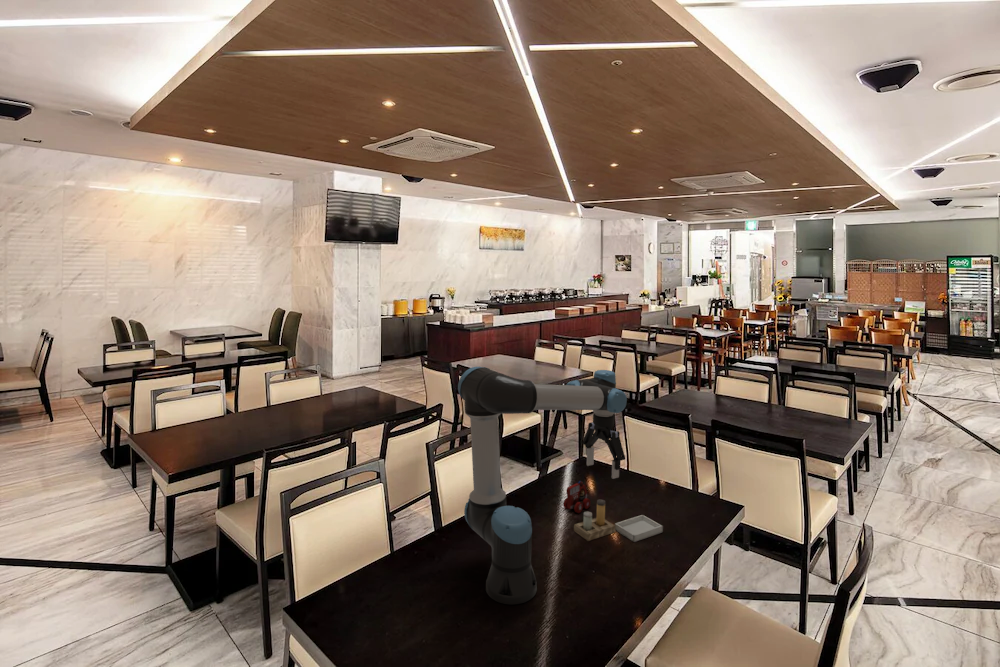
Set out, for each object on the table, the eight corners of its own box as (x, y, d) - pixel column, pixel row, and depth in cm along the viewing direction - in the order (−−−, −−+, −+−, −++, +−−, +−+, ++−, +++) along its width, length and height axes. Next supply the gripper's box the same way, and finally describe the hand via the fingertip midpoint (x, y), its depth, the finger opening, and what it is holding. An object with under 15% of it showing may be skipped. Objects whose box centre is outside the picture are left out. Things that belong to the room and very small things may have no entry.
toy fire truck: (593, 506, 208) (594, 481, 207) (574, 516, 200) (575, 490, 198) (579, 500, 213) (579, 476, 212) (560, 510, 205) (561, 485, 203)
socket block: (588, 541, 181) (588, 534, 181) (573, 531, 188) (574, 524, 188) (615, 532, 188) (615, 525, 187) (600, 522, 194) (600, 516, 194)
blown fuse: (599, 532, 187) (600, 503, 186) (594, 529, 190) (595, 500, 188) (606, 530, 189) (607, 501, 187) (600, 527, 191) (601, 498, 190)
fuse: (586, 536, 184) (587, 516, 183) (581, 533, 187) (582, 512, 186) (593, 534, 186) (593, 514, 185) (588, 531, 188) (588, 510, 187)
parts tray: (634, 542, 181) (634, 535, 180) (614, 529, 189) (614, 523, 189) (662, 532, 188) (662, 525, 187) (642, 520, 196) (642, 514, 196)
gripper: (637, 421, 175) (634, 481, 178) (589, 404, 196) (588, 458, 199) (620, 424, 171) (618, 485, 174) (573, 407, 193) (572, 461, 195)
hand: (602, 471), depth 187 cm, fingers open, 13 cm apart
